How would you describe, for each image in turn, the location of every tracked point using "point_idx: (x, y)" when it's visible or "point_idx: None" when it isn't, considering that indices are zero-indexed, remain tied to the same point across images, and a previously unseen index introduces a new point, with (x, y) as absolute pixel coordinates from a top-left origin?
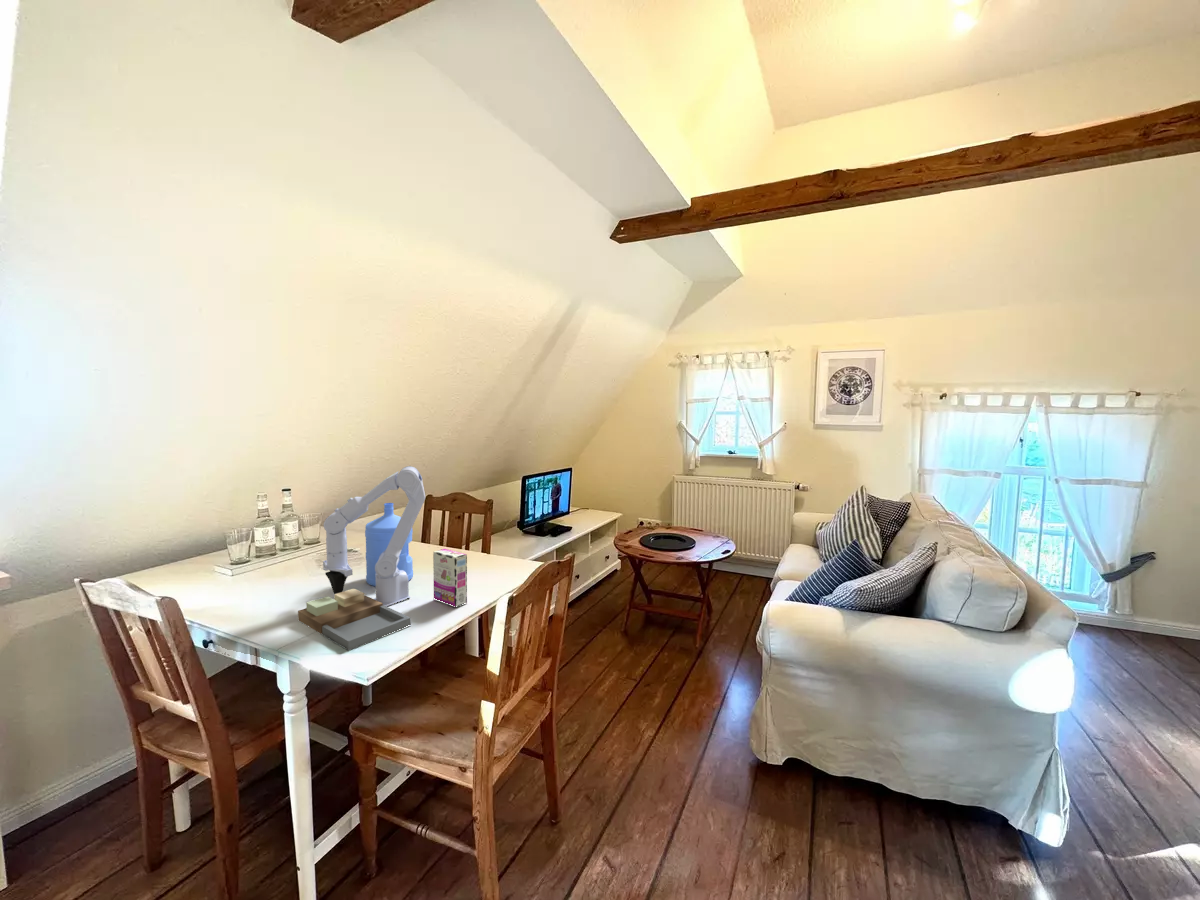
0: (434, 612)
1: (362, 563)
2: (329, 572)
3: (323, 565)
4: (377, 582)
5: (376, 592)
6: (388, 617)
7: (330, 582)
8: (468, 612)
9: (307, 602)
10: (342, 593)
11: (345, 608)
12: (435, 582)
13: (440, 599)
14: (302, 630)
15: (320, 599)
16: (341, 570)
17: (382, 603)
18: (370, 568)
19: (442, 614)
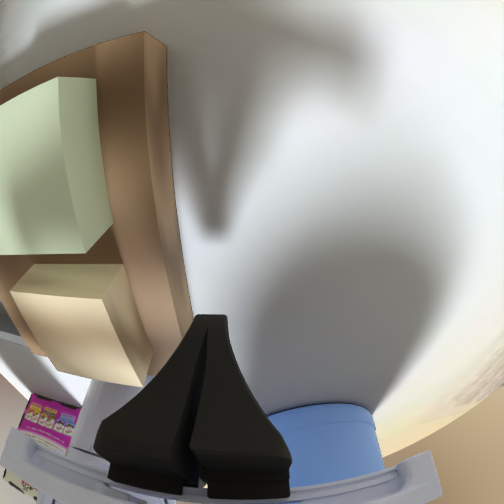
0: (22, 371)
1: (452, 402)
2: (249, 467)
3: (426, 464)
4: (94, 432)
5: (115, 396)
6: (2, 313)
7: (232, 376)
8: (13, 385)
9: (53, 84)
10: (92, 330)
11: (20, 258)
12: (66, 445)
13: (62, 409)
14: (44, 51)
15: (49, 187)
16: (30, 477)
17: (32, 352)
18: (321, 460)
19: (11, 369)
